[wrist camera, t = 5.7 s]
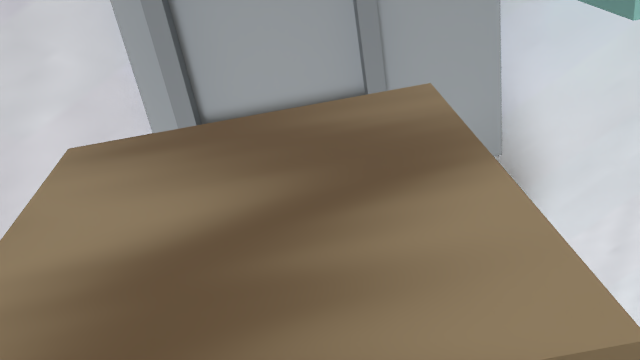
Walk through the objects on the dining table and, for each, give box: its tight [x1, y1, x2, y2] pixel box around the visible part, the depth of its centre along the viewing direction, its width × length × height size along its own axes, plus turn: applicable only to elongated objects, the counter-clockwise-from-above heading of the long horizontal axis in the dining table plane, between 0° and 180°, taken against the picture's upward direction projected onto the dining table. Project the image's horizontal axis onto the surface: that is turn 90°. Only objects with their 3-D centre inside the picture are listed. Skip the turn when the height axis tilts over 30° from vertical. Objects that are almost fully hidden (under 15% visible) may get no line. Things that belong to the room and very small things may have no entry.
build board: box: [110, 0, 502, 156], centre depth 25 cm, size 16×12×2 cm
